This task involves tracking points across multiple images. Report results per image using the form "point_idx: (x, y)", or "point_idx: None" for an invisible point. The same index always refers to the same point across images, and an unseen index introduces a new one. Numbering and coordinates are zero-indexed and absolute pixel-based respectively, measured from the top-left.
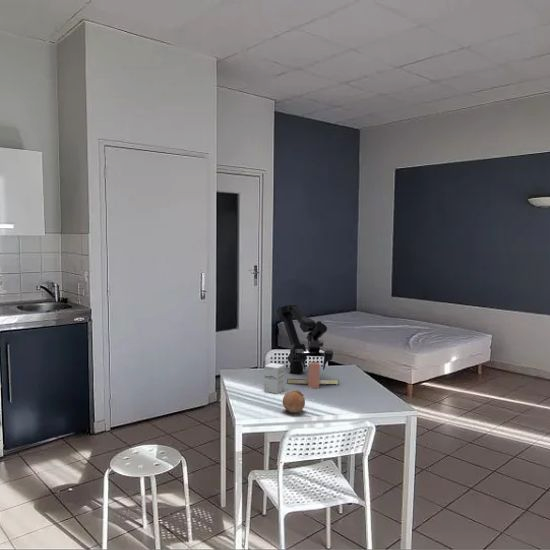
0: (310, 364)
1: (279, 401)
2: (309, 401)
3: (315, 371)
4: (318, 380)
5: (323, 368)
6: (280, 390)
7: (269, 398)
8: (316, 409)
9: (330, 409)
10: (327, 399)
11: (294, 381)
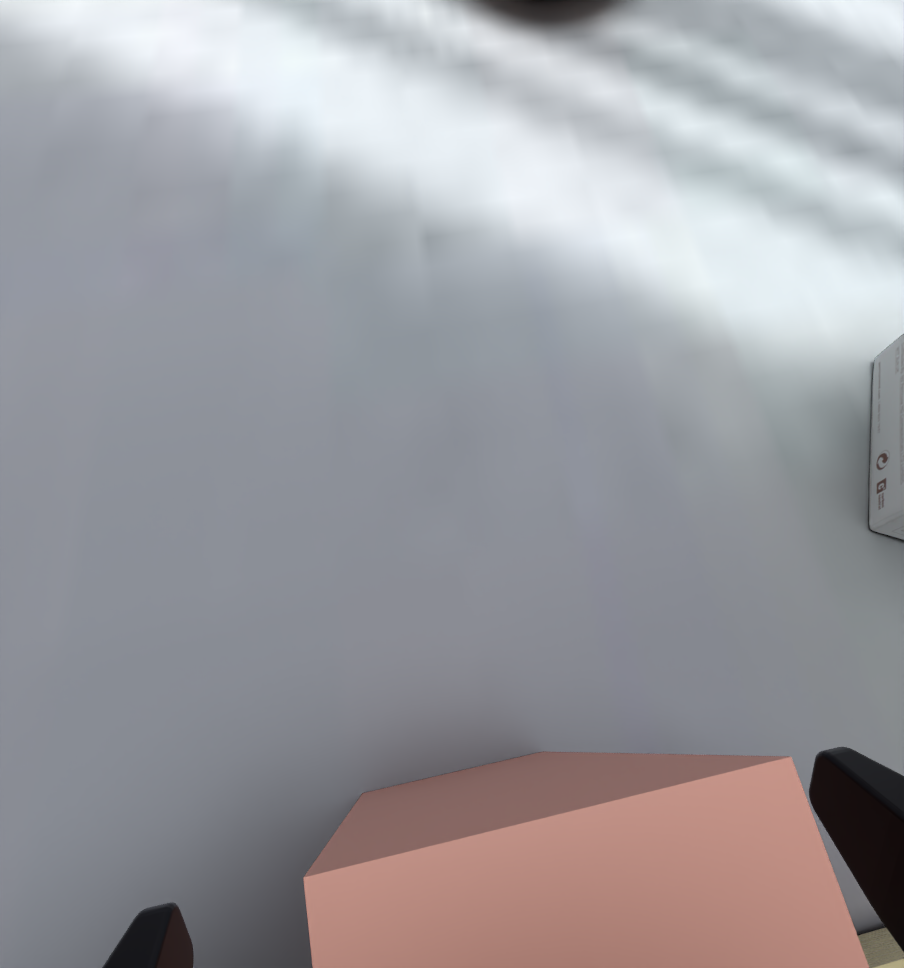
0: (736, 766)
1: (746, 160)
2: (444, 201)
3: (468, 796)
4: (371, 799)
5: (163, 925)
6: (883, 426)
7: (876, 219)
8: (352, 32)
9: (212, 44)
10: (229, 290)
11: (882, 945)
